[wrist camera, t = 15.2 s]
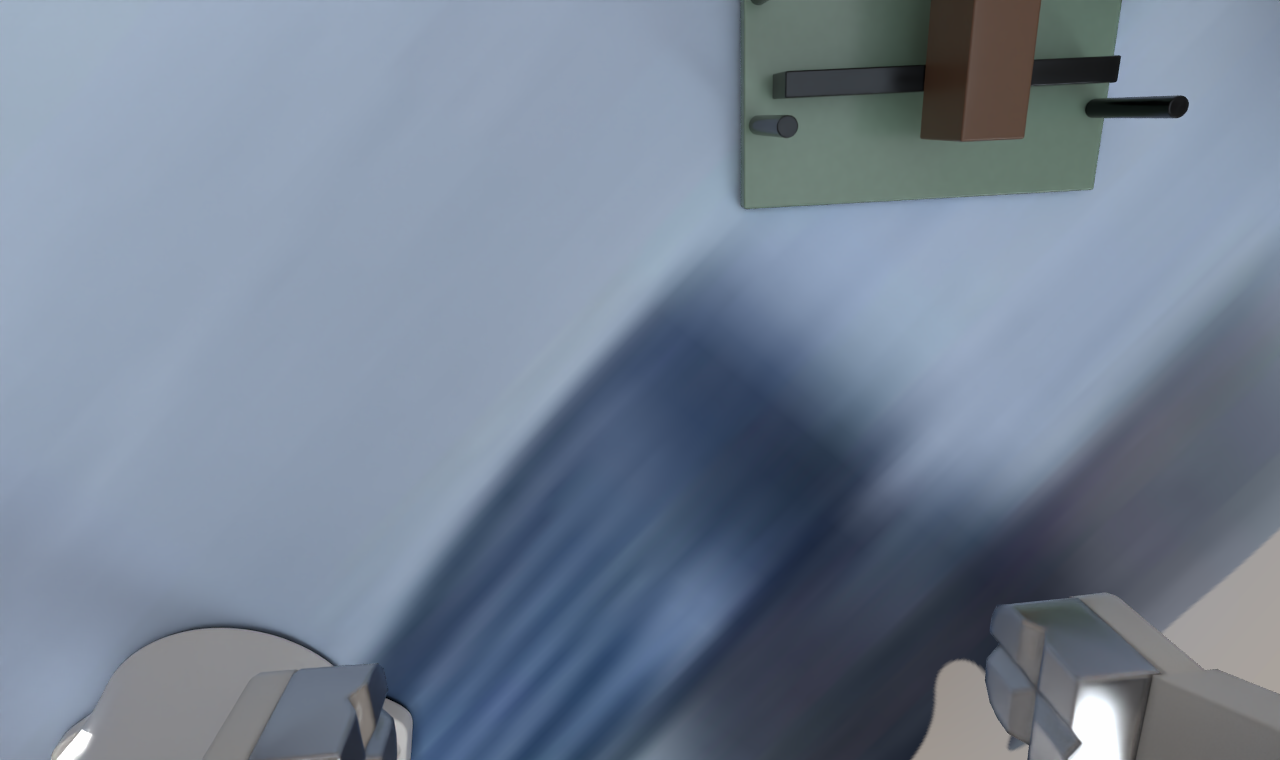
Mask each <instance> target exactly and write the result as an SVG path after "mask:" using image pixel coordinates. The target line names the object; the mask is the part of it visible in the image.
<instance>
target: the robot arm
mask: <svg viewBox="0 0 1280 760" xmlns="http://www.w3.org/2000/svg"><path fill="white" fill-rule="evenodd" d="M990 632H991V634H992V635H993V636H994V638H995V639H996V640H997V642H998V643H999V645H998V646H997V648H996V649H995V650H994V651H993V652H992V654H991V655H990V656H989V657H988V658H987V662H986V675H985V682H986V687H987V692H988V696H989V701H990V704H991V706H992V708H993V710H994V712H995V715H996V717H997V718H998V720H999V721H1000V723H1001V724H1002V726H1003V727H1004V728H1005V730H1006V731H1007V733H1008V734H1010V735H1012V736H1014V737H1015V738H1017V739H1019V740H1021V741H1022V742H1024V743H1026V744H1028V745H1029V751H1028V760H1280V694H1278V693H1276V692H1273V691H1271V690H1268V689H1265V688H1263V687H1260V686H1258V685H1255V684H1253V683H1250V682H1248V681H1245V680H1243V679H1240V678H1238V677H1235V676H1233V675H1230V674H1228V673H1225V672H1223V671H1220V670H1218V669H1213V670H1204V669H1203V668H1202V667H1201V666H1200V665H1198V664H1197V663H1196V662H1195V661H1194V660H1192V659H1191V658H1190V657H1189V656H1188V655H1187V654H1185V653H1184V652H1183V651H1182V650H1180V649H1179V648H1178V647H1177V646H1176V645H1175V644H1173V643H1172V642H1171V641H1170V640H1169V639H1167V638H1166V637H1165V636H1164V635H1163V634H1162V633H1160V632H1159V631H1158V630H1157V629H1156V628H1154V627H1153V626H1152V625H1151V624H1150V623H1148V622H1147V621H1146V620H1145V619H1144V618H1143V617H1141V616H1140V615H1139V614H1138V613H1137V612H1135V611H1134V610H1133V609H1132V608H1131V607H1129V606H1128V605H1127V604H1126V603H1125V602H1123V601H1122V600H1121V599H1120V598H1119V597H1117V596H1114V595H1112V594H1109V593H1098V594H1089V595H1081V596H1073V597H1069V598H1068V599H1057V600H1047V601H1037V602H1027V603H1017V604H1007V605H998V606H997V607H996V609H995V611H994V613H993V615H992V620H991V627H990ZM387 692H388V686H387V681H386V677H385V672H384V668H383V667H382V666H381V665H379V664H378V663H373V664H359V665H345V666H333V665H332V664H331V663H329V662H328V661H327V660H325V659H324V658H322V657H321V656H319V655H317V654H316V653H314V652H312V651H311V650H309V649H307V648H305V647H303V646H301V645H299V644H296V643H294V642H292V641H289V640H287V639H284V638H281V637H278V636H274V635H271V634H267V633H263V632H258V631H253V630H246V629H238V628H205V629H196V630H190V631H185V632H181V633H177V634H173V635H170V636H167V637H164V638H162V639H159V640H157V641H155V642H153V643H150V644H148V645H147V646H145V647H143V648H141V649H140V650H138V651H137V652H135V653H134V654H133V655H131V656H130V657H129V658H128V659H127V660H125V661H124V662H123V663H122V664H121V665H120V666H119V668H118V669H117V670H116V671H115V672H114V674H113V675H112V677H111V678H110V680H109V681H108V683H107V685H106V687H105V689H104V691H103V693H102V695H101V697H100V699H99V701H98V703H97V705H96V706H95V708H94V710H93V712H92V713H91V714H90V715H88V716H87V717H85V718H84V719H83V720H81V721H80V722H78V723H77V724H76V725H74V726H73V727H72V728H71V729H69V730H68V731H67V732H66V733H65V734H64V736H63V737H62V739H61V740H60V742H59V743H58V745H57V746H56V748H55V749H54V751H53V752H52V755H51V760H411V745H412V729H413V720H412V716H411V714H410V713H409V712H408V710H407V709H405V708H404V707H403V706H401V705H399V704H397V703H396V702H393V701H391V700H389V699H386V695H387Z"/></svg>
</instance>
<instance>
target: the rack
mask: <svg viewBox="0 0 1280 760" xmlns="http://www.w3.org/2000/svg"><path fill="white" fill-rule="evenodd" d="M1121 3H1122V0H1041V7H1040V15H1039V23H1038V31H1037V39H1036V47H1035V55H1034V63H1033V71H1032V80H1031V88H1030V96H1029V104H1028V112H1027V120H1026V128H1025V136H1024V138H1023V139H1015V140H994V141H973V142H955V141H940V140H925V139H921V138H920V132H921V120H922V107H923V94H924V82H925V69H926V57H927V44H928V32H929V19H930V6H931V0H741V207H742V208H744V209H756V208H774V207H792V206H810V205H828V204H846V203H864V202H882V201H900V200H918V199H936V198H954V197H972V196H990V195H1008V194H1026V193H1044V192H1061V191H1079V190H1091V189H1093V187H1094V180H1095V173H1096V167H1097V160H1098V154H1099V147H1100V141H1101V134H1102V128H1103V121H1104V118H1179V117H1181V116H1183V115H1184V114H1185V113H1186V111H1187V110H1188V106H1189V102H1188V100H1187V98H1186V97H1184V96H1153V97H1125V98H1107V95H1108V88H1109V83H1112V82H1116V81H1117V78H1118V72H1119V65H1120V59H1121V56H1119V55H1118V56H1114V49H1115V43H1116V36H1117V29H1118V23H1119V16H1120V10H1121Z"/></svg>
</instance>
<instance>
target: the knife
mask: <svg viewBox="0 0 1280 760" xmlns="http://www.w3.org/2000/svg"><path fill="white" fill-rule="evenodd" d="M1040 7H1041V0H931V6H930V19H929V32H928V44H927V57H926V69H925V82H924V94H923V107H922V120H921V132H920V138H921V139H925V140H940V141H955V142H973V141H994V140H1015V139H1023V138H1024V136H1025V128H1026V120H1027V112H1028V104H1029V96H1030V88H1031V80H1032V71H1033V63H1034V55H1035V47H1036V39H1037V31H1038V23H1039V15H1040Z"/></svg>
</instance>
